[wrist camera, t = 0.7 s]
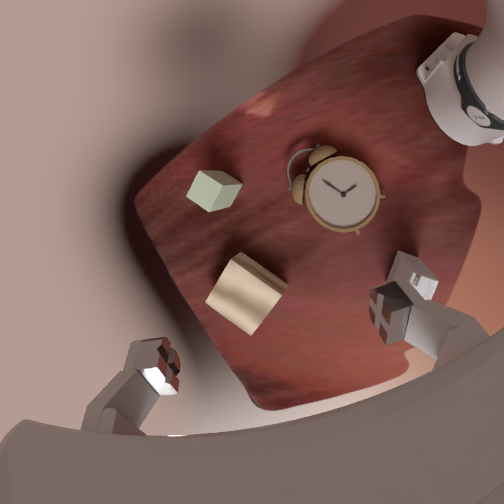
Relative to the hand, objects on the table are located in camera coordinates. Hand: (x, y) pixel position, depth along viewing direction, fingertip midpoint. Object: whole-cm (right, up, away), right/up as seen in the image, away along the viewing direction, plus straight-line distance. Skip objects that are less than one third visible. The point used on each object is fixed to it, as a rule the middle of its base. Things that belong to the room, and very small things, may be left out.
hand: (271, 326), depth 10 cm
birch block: (-1, -4, +40) cm, 40 cm away
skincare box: (+24, 0, +30) cm, 38 cm away
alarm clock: (+12, +13, +31) cm, 36 cm away
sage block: (-5, +14, +36) cm, 39 cm away
